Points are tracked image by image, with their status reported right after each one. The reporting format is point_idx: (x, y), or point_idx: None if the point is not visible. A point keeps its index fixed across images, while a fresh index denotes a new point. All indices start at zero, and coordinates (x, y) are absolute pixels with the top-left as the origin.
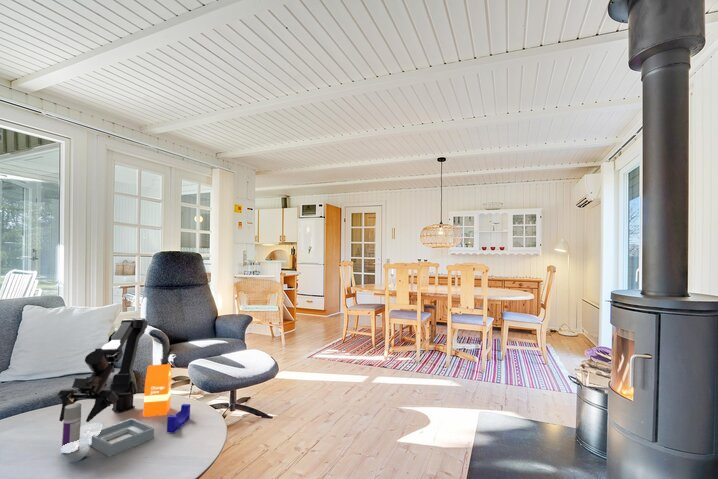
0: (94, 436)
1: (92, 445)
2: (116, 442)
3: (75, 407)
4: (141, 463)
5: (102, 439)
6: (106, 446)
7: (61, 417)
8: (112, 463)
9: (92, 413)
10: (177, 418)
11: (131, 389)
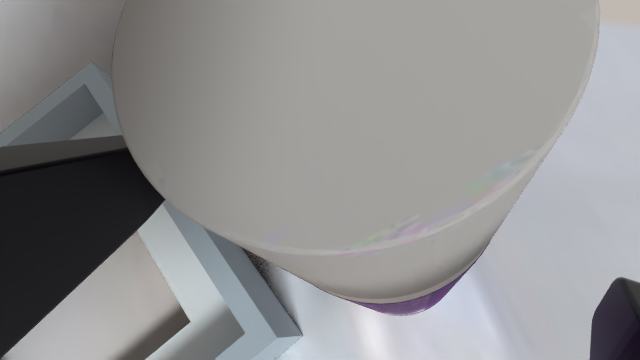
0: (208, 253)
1: (249, 264)
2: (54, 100)
3: None
4: (3, 7)
5: (178, 295)
6: None
7: (632, 297)
8: (116, 29)
9: (57, 151)
10: None
11: None
